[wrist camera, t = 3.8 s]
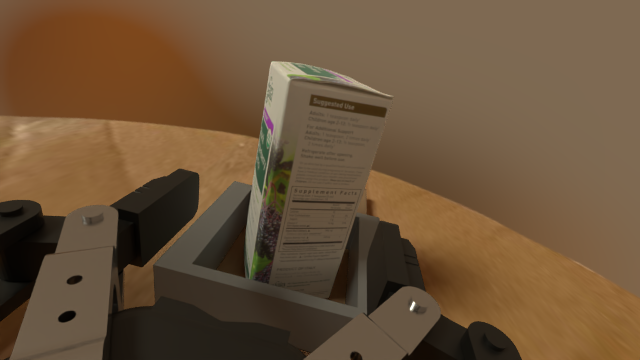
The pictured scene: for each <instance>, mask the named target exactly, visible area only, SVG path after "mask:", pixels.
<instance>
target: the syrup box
mask: <svg viewBox="0 0 640 360" xmlns="http://www.w3.org/2000/svg"><path fill="white" fill-rule="evenodd" d="M393 98H394V97H393V96H390V95H386V94H383V93H381V92H379V91H377V90H374V89H372V88H370V87H368V86H366V85H364V84H362V83H359V82H357V81H355V80H354V79H352V78H350V77H347V76H344V75H341V74H339V73H336V72H333V71H330V70H326V69H322V68H318V67H314V66H310V65H305V64H298V63H290V62H275V61H272V62H271V65H270V70H269V78H268V85H267V92H266V100H265V106H264V112H263V118H262V125H261V132H260V138H259V145H258V151H257V157H256V164H255V171H254V177H253V184H252V191H251V198H250V205H249V212H248V219H247V227H246V236H245V243H244V266H245V276H246V278H247V279H251V280H255V281H259V282H262V283H266V284H270V285H274V286H277V287H281V288H285V289H289V290H293V291H296V292H300V293H304V294H308V295H311V296H315V297H319V298H323V299H324V298H329V296H330V294H331V290H332V288H333V284H334V281H335V278H336V274H337V272H338V269H339V266H340V263H341V260H342V257H343V254H344V251H345V248H346V244H347V241H348V238H349V235H350V232H351V229H352V226H353V223H354V220H355V216H356V213H357V210H358V207H359V204H360V201H361V198H362V195H363V192H364V189H365V186H366V182H367V180H368V177H369V174H370V170H371V167H372V164H373V161H374V158H375V155H376V152H377V149H378V145H379V142H380V139H381V136H382V133H383V130H384V126H385V124H386V121H387V117H388V115H389V112H390V109H391V105H392V102H393Z"/></svg>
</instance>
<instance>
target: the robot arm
mask: <svg viewBox="0 0 640 360" xmlns="http://www.w3.org/2000/svg"><path fill="white" fill-rule="evenodd" d="M198 202H199V175H198V173H196V172H192V171H188V170H184V169H178V170H176V171H175V172H173V173H171V174H170V175H168V176H167V177H166V176H164V177H160V178H157V179H153V180H151V181H149V182H148V183H146V184H145V185H143V187H140V188H138V189H136V190H135V192H132V193H130V194H128V195H127V196H125V197H123V198H122V199H120V200H118V201H117V202H115V203H114V204H112V205H110V206H105V205H93V206H86V207H82V208H79V209H77V210H74V211H73V212H71V213H70V214H68V215H67V217H63V216H43V213H42V209H41V206H40V204H39V203H37V202H34V201H30V200H12V201H6V202H1V203H0V321H2V320H3V319H4V318H5V317H7V316H8V315H9V314H10V313H12V312H13V311H14V310H15V309H17V308H18V307H19V306H20V305H21V304H23V303H24V302H25V301H26V300H28V299H29V298H30V297H31V298H30V301H29V304H28V307H27V310H26V313H25V316H24V319H23V322H22V325H21V327H20V330H19V333H18V336H17V339H16V342H15V345H14V348H13V351H12V354H11V357H9V358H7V359H4V360H522V359H521V357H520V355H519V352H518V350H517V348H516V346H515V345H514V344H513V342H512V341H511V340H510V339H509V338H508V337H507V336H506V335H505V334H504V333H503V332H502V331H500V330H499V329H497V328H496V327H494V326H492V325H490V324H488V323H485V322H479V321H478V322H473V323H471V324H470V325H469V327H468V328H467V329H466V328H465V327H463V326H461V325H459V324H457V323H455V322H453V321H451V320H449V319H448V318H446V317H444V316H443V315H442V314H441V311H440V307H439V305H438V303H437V302H436V301H435V299H434V298H433V297H432V296H430V295H429V294H428V293H426V290H425V287H424V283H423V279H422V275H421V271H420V267H419V263H418V259H417V255H416V251H415V248H414V247H413V245H412V244H411V243H410V242H409V240H407V239H404V238H401V236H400V231H399V226H398V225H396V224H392V223H388V222H384V221H380V222H379V224H378V226H377V229H376V232H375V235H374V238H373V240H372V243H371V246H370V249H369V252H368V257H367V315H366V314H365V313H360V314H359V315H357V316H356V317H355V318H354V319H353V320H351V321H350V322H349V323H348V324H346V325H345V326H344V327H343V328H342V329H340V330H339V331H338V332H337V333H335V334H334V335H333V336H332V337H330V338H329V339H328V340H327V341H326V342H324V343H323V344H322V345H321V346H319V347H318V348H317V349H316V350H315V351H313V352H312V353H311V354H310V355H308V356H307V357H306V356H305V355H304V354H303V353H302V352H301V351H300V350H299V349H297V348H296V347H295V346H293V345H292V344H290V343H288V340H289V336H290V332H291V331H287V330H283V329H280V328H276V327H273V326H269V325H265V324H262V323H255V322H227V321H220V320H218V319H217V318H215V317H213V316H211V315H210V314H208V313H206V312H205V311H203V310H201V309H199V308H198V307H196V306H194V305H193V304H189V303H185V302H182V301H178V300H174V299H171V298H167V297H163V296H161V297H160V298H159V299H158V301H157V302H156V303H155V304H154V305H153V306H143V307H135V308H129V309H125V310H124V268H125V267H126V266H127V265H128V264H131V265H135V266H139V267H143V266H144V265H145V264H146V263H147V262H148V261H149V260H150V259H151V258H152V257H153V256H154V255H155V254H156V253H157V252H158V251H159V250H160V249H161V248H162V247H163V246H165V245H166V244H167V243H168V242H169V241H170V240H171V239H172V238H173V237H174V236H175V235H176V234H177V233H178V232H179V231H180V230H181V229H182V228H183V227H184V226H185V225H186V224H187V223H188V222H189V221H190V220H191V219H192V218H193V217H194V215H195V214H196V212H197V209H198Z"/></svg>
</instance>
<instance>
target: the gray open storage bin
mask: <svg viewBox="0 0 640 360" xmlns="http://www.w3.org/2000/svg"><path fill="white" fill-rule="evenodd" d="M251 191H252V185H248V184H244V183H240V182H236V181H234V182H233V183H232V184H231V185H230V186H229V187H228V188H227V190H226V191H225V192H224V193H223V194H222V195H221V196H220V197H219V198H218V199H217V200H216V201H215V202H214V203H213V204H212V205H211V206H210V207H209V208H208V209H207V210H206V211H205V212H204V213H203V214H202V215H201V216H200V217H199V218H198V219H197V220H196V221H195V222H194V223H193V224H192V225H191V227H190V228H189V229H188V230H187V231H186V232H185V233H184V234H183V235H182V236H181V237H180V238H179V239H178V240H177V241H176V242H175V243H174V244H173V245H172V246H171V247H170V248H169V249H168V250H167V251H166V252H165V253H164V254H163V255H162V256H161V257H160V258H159V259H158V260H157V261H156V263H155V264H154V265H153V269H154V291H155V303H156V302H157V301H158V299H159V298H160V297H161V296H163V297H167V298H171V299H174V300H178V301H182V302H185V303H189V304H193V305H194V306H196V307H198V308H199V309H201V310H203V311H205V312H206V313H208V314H210V315H211V316H213V317H215V318H217V319H218V320H220V321H227V322H255V323H262V324H265V325H269V326H273V327H276V328H280V329H283V330H287V331H291V332H290V336H289V340H288V343H290V344H292V345H293V346H295V347H296V348H297V349H301V350H304V351H308V352H313V351H315V350H316V349H317V348H318V347H319V346H321V345H322V344H323V343H324V342H326V341H327V340H328V339H329V338H330V337H332V336H333V335H334V334H335V333H337V332H338V331H339V330H340V329H342V328H343V327H344V326H345V325H346V324H348V323H349V322H350V321H351V320H353V319H354V318H355V317H356V316H357V315H359V314H360V313H365V314H366V315H367V257H368V252H369V249H370V246H371V243H372V240H373V238H374V235H375V232H376V229H377V226H378V224H379V222H380V220H379V218H378V217H374V216H370V215H366V214H362V213H358V212H357V213H356V216H355V220H354V223H353V226H352V229H351V232H350V235H349V238H348V241H347V244H346V248H345V249H348V250H349V258H348V273H347V287H346V301H345V304H341V303H338V302H334V301H330V300H326V299H323V298H319V297H315V296H311V295H308V294H304V293H300V292H296V291H293V290H289V289H285V288H281V287H277V286H274V285H270V284H266V283H262V282H259V281H255V280H251V279H247V278H244V277H240V276H236V275H232V274H229V273H225V272H221V271H217V270H216V269H217V267H218V266H219V264H220V263H221V261H222V260H223V258H224V257H225V255H226V254H227V252H228V251H229V249H230V248H231V246H232V245H233V243H234V242H235V240H236V239H237V237H238V236H239V234H240V233H241V231H242V230H243V228H244V227H245V225H246V224H247V219H248V212H249V205H250V198H251Z"/></svg>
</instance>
